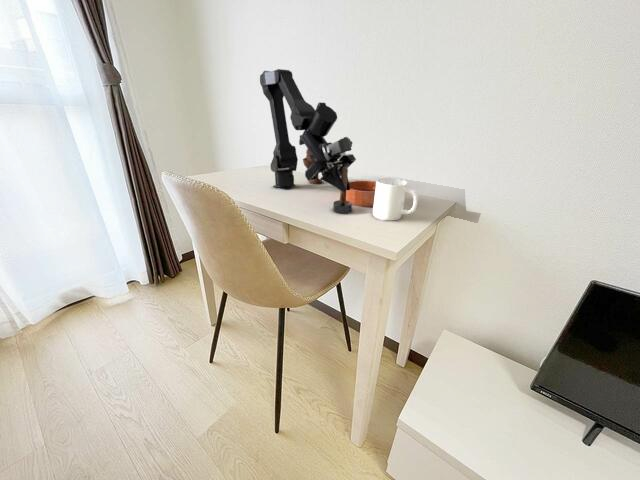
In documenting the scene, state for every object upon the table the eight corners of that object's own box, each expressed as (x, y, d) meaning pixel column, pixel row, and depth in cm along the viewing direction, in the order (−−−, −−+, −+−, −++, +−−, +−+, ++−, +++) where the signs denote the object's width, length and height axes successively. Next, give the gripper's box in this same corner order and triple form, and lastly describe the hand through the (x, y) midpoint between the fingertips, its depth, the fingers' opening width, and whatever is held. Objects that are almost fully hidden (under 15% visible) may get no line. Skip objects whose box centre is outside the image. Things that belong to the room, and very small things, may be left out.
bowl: (336, 202, 85) (337, 188, 83) (351, 191, 97) (352, 178, 94) (379, 210, 80) (381, 194, 77) (389, 197, 91) (392, 183, 89)
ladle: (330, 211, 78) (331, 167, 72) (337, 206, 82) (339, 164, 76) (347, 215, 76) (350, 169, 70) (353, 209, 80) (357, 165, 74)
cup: (378, 208, 81) (383, 176, 76) (417, 217, 75) (424, 182, 70) (367, 216, 75) (371, 182, 70) (409, 226, 69) (416, 189, 64)
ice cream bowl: (329, 186, 103) (330, 146, 97) (301, 185, 104) (301, 146, 97) (329, 179, 113) (330, 143, 106) (303, 179, 113) (303, 142, 106)
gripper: (313, 128, 64) (348, 180, 63) (352, 125, 77) (382, 168, 76) (291, 157, 72) (322, 203, 71) (330, 150, 85) (356, 189, 84)
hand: (347, 190), depth 75 cm, fingers closed on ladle
